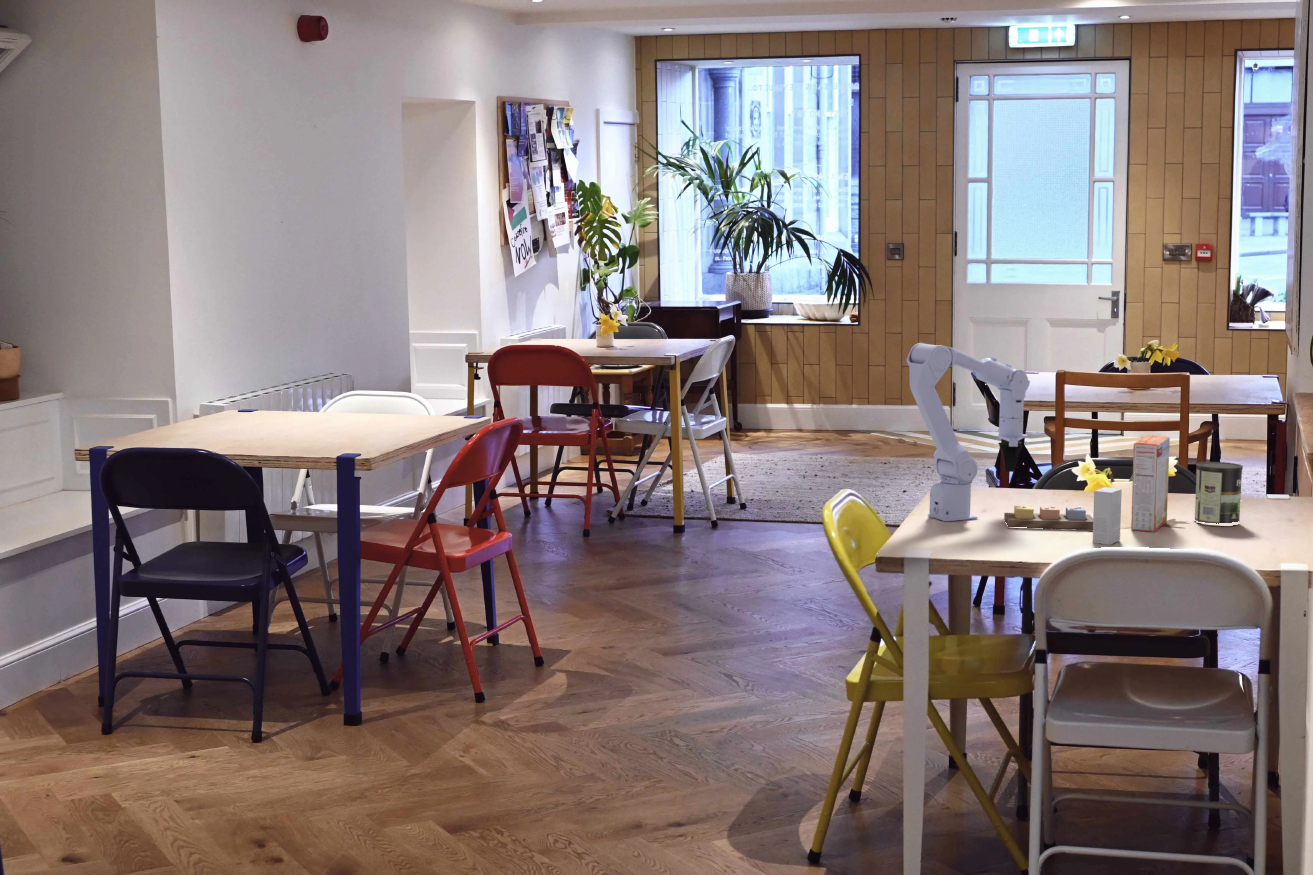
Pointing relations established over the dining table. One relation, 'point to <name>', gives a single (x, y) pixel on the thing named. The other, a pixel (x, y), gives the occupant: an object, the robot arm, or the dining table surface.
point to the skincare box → (1107, 515)
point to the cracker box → (1150, 483)
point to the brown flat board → (1049, 522)
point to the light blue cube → (1075, 513)
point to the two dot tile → (1049, 512)
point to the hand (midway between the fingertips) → (1009, 471)
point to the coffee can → (1218, 492)
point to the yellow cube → (1023, 512)
